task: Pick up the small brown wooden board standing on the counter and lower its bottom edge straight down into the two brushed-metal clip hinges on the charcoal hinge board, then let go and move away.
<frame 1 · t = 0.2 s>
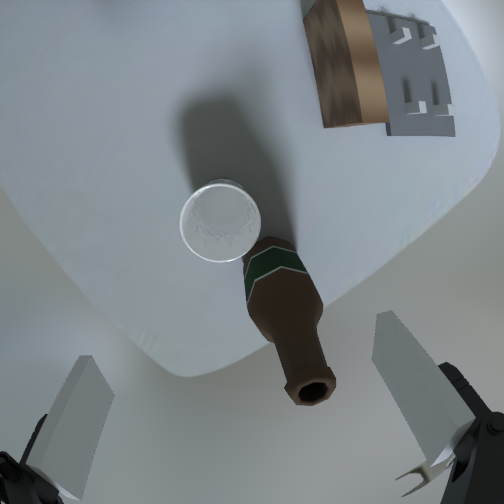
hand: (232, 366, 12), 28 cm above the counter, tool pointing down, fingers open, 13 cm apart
white cup: (222, 203, 37), on the counter
hinge board: (413, 75, 32), on the counter
beer bottle: (270, 260, 40), on the counter
brown wooden board: (324, 71, 32), on the counter
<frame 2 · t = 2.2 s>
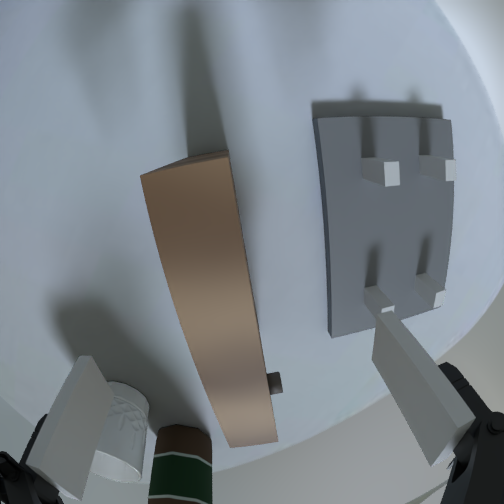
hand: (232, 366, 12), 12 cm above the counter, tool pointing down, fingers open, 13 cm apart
white cup: (123, 398, 29), on the counter
hinge board: (392, 226, 23), on the counter
beer bottle: (184, 437, 32), on the counter
brown wooden board: (226, 254, 23), on the counter
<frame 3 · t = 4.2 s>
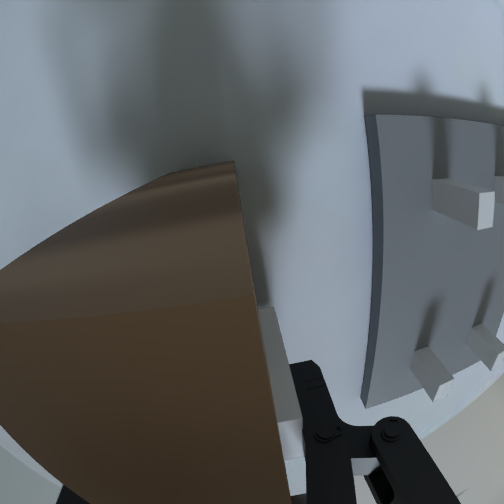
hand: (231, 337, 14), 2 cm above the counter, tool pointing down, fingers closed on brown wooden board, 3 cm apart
hinge board: (454, 270, 15), on the counter
brown wooden board: (231, 318, 15), on the counter, touching gripper
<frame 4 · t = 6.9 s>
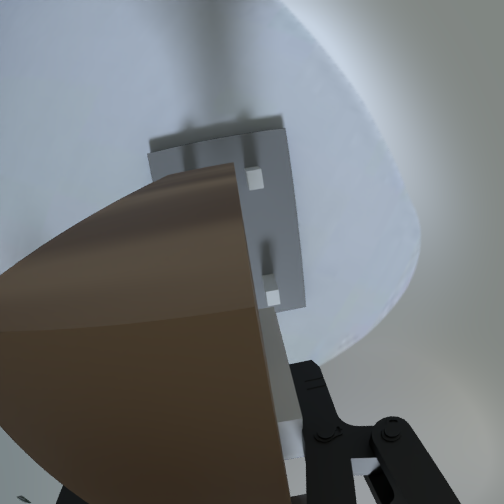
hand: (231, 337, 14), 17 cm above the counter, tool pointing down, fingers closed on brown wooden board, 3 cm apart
hinge board: (232, 232, 29), on the counter
brown wooden board: (231, 319, 15), point 15 cm above the counter, touching gripper
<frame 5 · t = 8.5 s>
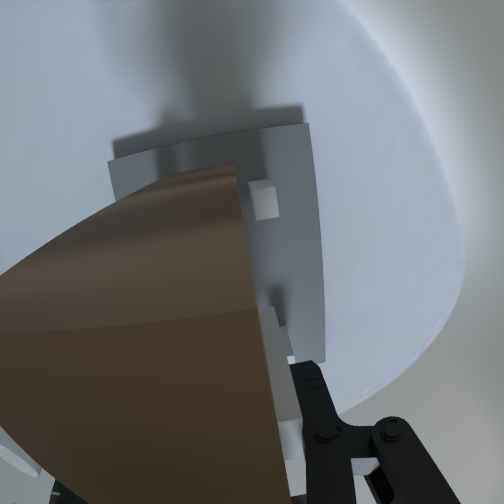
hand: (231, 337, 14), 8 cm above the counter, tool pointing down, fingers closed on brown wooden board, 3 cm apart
white cup: (38, 406, 27), on the counter
hinge board: (230, 271, 21), on the counter
brown wooden board: (231, 319, 15), point 6 cm above the counter, touching gripper
when the fingers open (4 cm above the counter, at t = 9.7 s): brown wooden board drops 1 cm, resting on hinge board.
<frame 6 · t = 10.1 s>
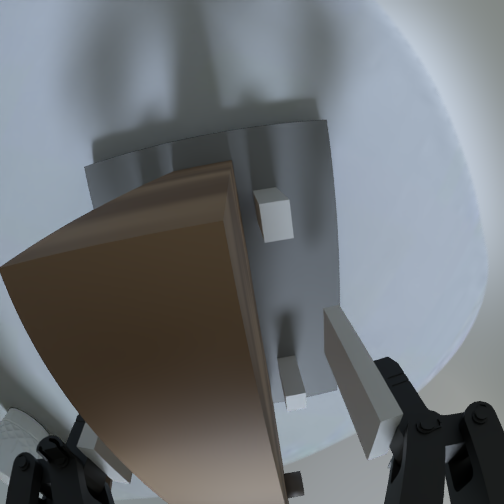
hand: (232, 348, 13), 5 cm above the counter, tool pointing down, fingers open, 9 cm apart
white cup: (29, 423, 23), on the counter
hinge board: (231, 295, 18), on the counter
brown wooden board: (230, 305, 17), point 1 cm above the counter, touching hinge board
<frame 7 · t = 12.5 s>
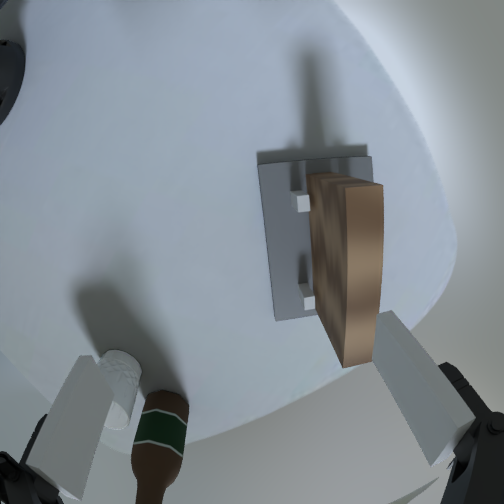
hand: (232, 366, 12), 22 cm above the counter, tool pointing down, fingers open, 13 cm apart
white cup: (122, 364, 39), on the counter
hinge board: (321, 239, 34), on the counter
beer bottle: (167, 403, 42), on the counter
brown wooden board: (323, 242, 33), point 1 cm above the counter, touching hinge board
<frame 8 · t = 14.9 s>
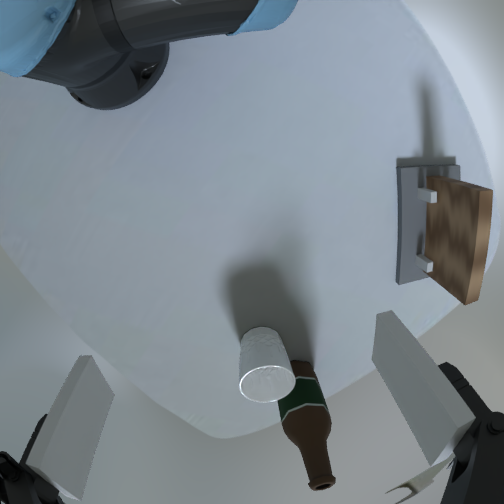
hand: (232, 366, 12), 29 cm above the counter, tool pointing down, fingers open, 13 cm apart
white cup: (260, 341, 47), on the counter
hinge board: (428, 222, 41), on the counter
beer bottle: (293, 373, 50), on the counter
brown wooden board: (432, 224, 40), point 1 cm above the counter, touching hinge board
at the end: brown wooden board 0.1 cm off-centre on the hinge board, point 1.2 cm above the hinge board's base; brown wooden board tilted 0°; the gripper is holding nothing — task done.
